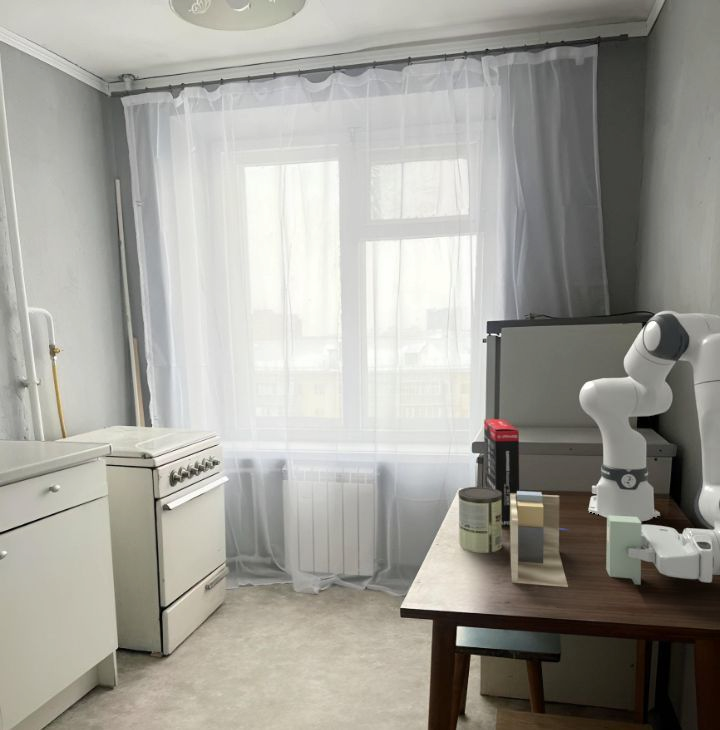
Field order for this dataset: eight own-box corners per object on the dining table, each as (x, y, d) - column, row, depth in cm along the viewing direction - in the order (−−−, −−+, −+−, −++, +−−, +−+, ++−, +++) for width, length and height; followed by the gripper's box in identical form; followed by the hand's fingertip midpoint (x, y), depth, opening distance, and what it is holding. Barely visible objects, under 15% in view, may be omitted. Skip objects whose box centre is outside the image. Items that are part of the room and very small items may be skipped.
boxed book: (605, 574, 127) (606, 515, 126) (636, 576, 125) (637, 516, 124) (609, 581, 123) (610, 521, 122) (640, 584, 121) (641, 523, 121)
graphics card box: (521, 531, 154) (521, 428, 152) (494, 531, 154) (494, 428, 153) (506, 510, 171) (506, 418, 170) (482, 511, 171) (482, 418, 170)
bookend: (517, 554, 135) (517, 520, 135) (541, 555, 134) (542, 521, 134) (517, 561, 131) (517, 526, 130) (543, 563, 130) (543, 528, 129)
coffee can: (460, 540, 148) (460, 485, 147) (502, 543, 145) (502, 487, 144) (456, 555, 138) (456, 496, 137) (501, 559, 135) (501, 499, 134)
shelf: (509, 551, 140) (510, 493, 139) (558, 555, 137) (558, 495, 137) (511, 587, 121) (511, 520, 120) (568, 592, 118) (568, 523, 117)
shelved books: (516, 549, 138) (516, 490, 137) (540, 551, 137) (541, 492, 136) (517, 560, 132) (517, 499, 131) (543, 562, 130) (543, 500, 130)
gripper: (681, 519, 130) (614, 515, 133) (714, 554, 110) (635, 548, 114) (680, 547, 131) (614, 542, 134) (713, 586, 111) (634, 580, 114)
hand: (624, 545), depth 124 cm, fingers open, 5 cm apart
